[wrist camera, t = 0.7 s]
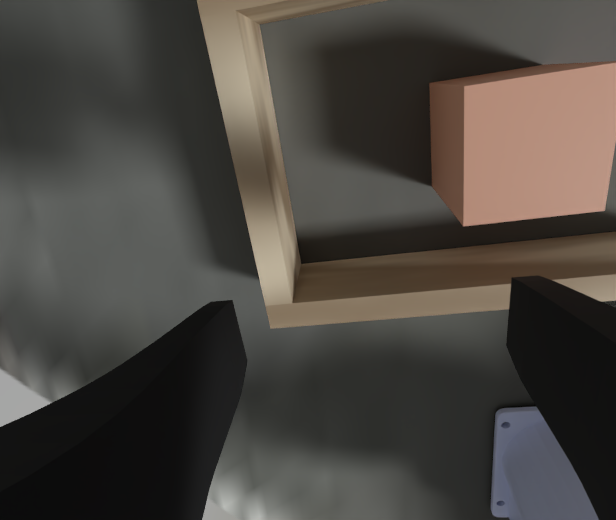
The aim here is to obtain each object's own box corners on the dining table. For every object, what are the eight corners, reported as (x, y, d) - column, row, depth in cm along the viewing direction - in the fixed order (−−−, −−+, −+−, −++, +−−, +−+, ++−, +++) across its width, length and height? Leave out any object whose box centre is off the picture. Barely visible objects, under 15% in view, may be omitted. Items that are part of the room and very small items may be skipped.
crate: (655, 250, 19) (727, 291, 16) (282, 286, 22) (270, 328, 18) (732, -107, 14) (871, -171, 10) (224, -5, 16) (190, -27, 13)
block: (533, 173, 18) (604, 210, 13) (431, 186, 19) (463, 226, 14) (542, 64, 16) (628, 60, 11) (429, 82, 17) (464, 85, 12)
